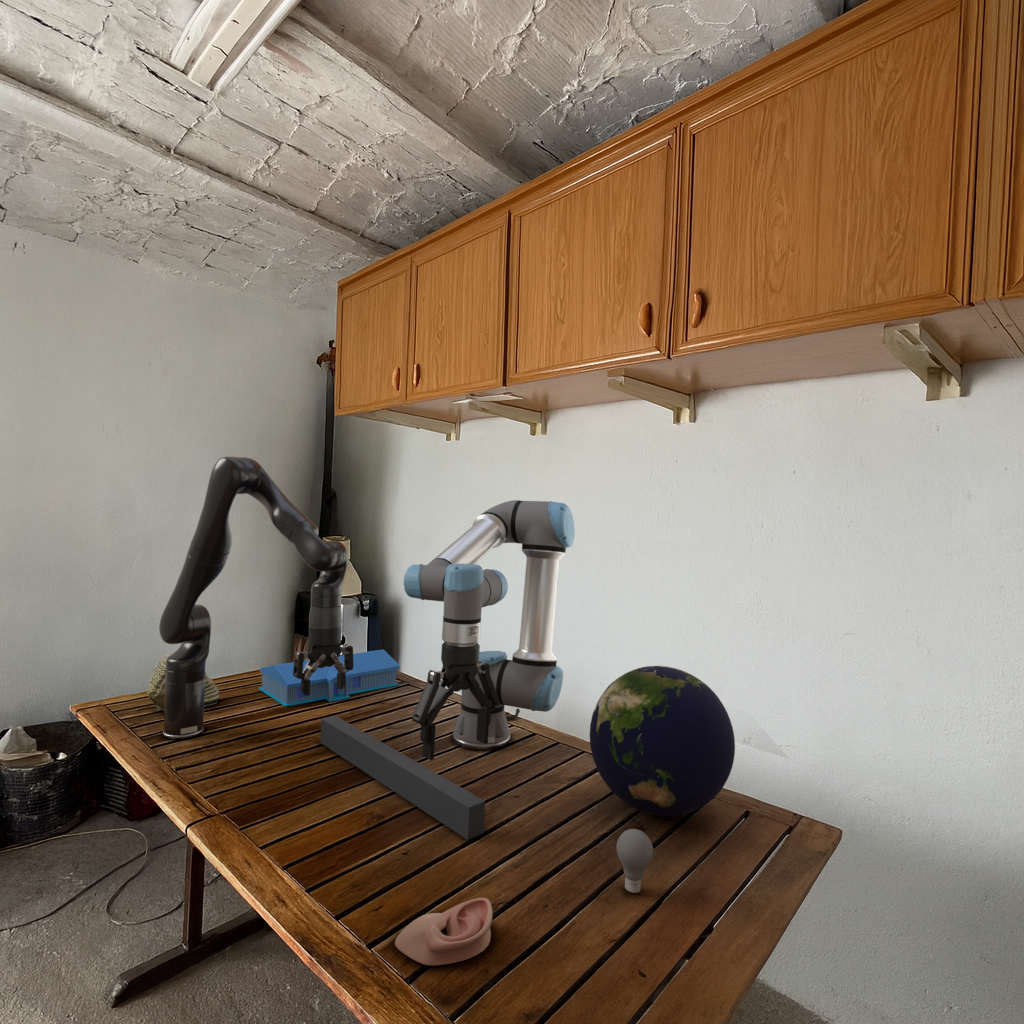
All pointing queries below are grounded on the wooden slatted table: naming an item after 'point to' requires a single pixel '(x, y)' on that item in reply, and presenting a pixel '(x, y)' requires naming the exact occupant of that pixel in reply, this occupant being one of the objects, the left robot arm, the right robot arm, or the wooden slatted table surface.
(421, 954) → the anatomical model
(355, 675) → the model building
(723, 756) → the globe
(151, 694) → the fossil
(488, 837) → the wooden slatted table surface
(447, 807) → the beam
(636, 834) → the light bulb
